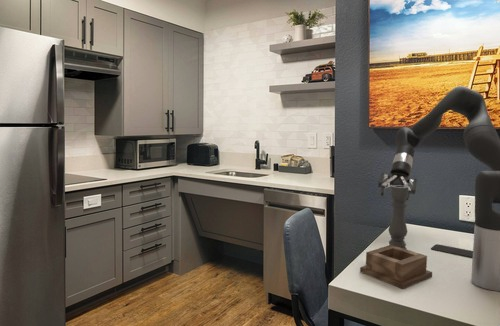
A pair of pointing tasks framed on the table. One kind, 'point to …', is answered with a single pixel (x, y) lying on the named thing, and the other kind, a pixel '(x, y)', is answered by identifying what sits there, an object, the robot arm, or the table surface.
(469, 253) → the phone
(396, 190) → the candle holder
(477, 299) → the table surface
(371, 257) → the socket block
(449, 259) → the table surface
